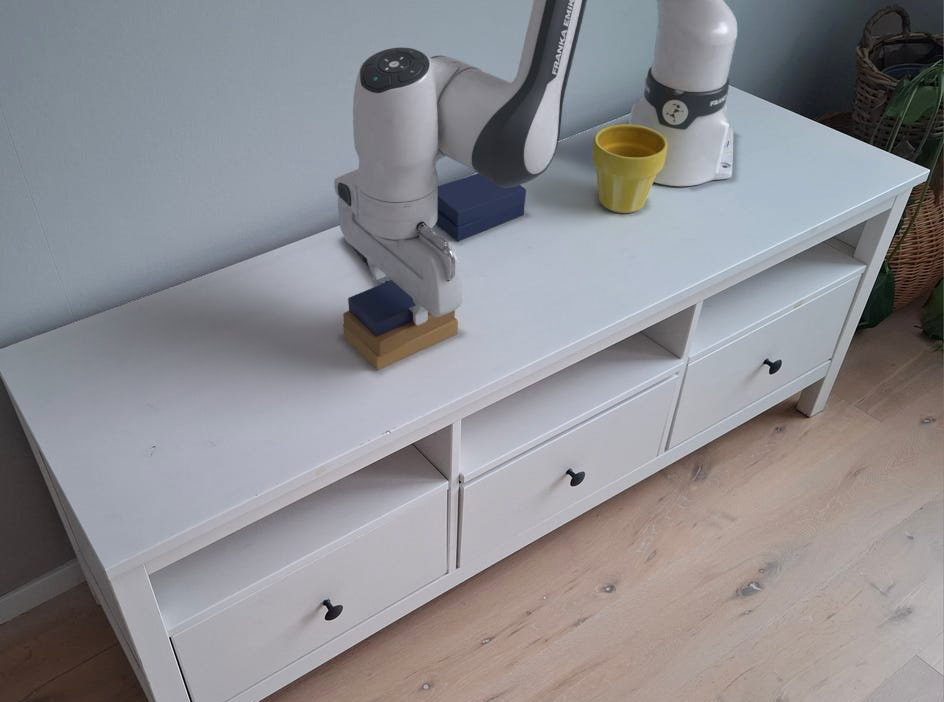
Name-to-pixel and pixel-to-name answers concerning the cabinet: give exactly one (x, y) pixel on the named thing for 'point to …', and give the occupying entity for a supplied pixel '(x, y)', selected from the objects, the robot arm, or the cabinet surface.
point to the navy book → (382, 307)
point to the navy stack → (477, 206)
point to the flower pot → (627, 165)
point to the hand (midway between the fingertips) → (400, 305)
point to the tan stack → (397, 338)
